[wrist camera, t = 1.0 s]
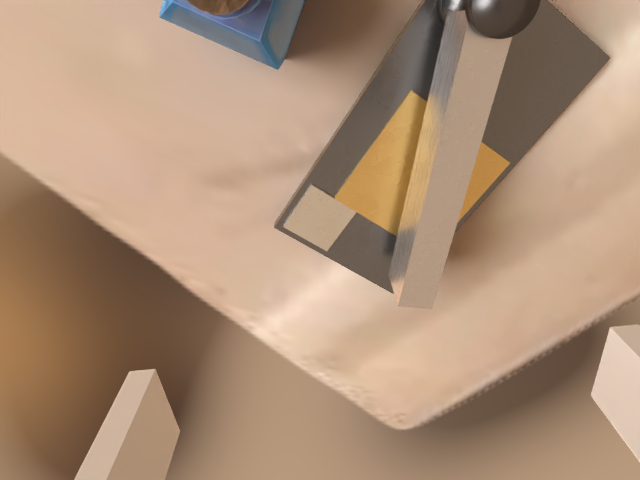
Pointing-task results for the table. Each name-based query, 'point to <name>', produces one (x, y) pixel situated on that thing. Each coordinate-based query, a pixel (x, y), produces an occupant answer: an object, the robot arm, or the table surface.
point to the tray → (405, 126)
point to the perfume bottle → (240, 24)
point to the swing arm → (451, 140)
